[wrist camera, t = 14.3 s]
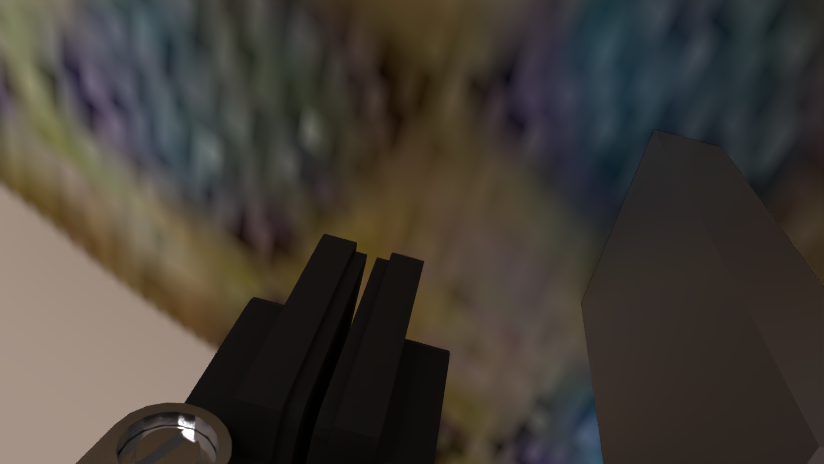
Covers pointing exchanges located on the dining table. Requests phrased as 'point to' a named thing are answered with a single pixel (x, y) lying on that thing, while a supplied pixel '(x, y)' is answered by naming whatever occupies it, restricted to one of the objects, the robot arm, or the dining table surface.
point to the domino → (703, 322)
